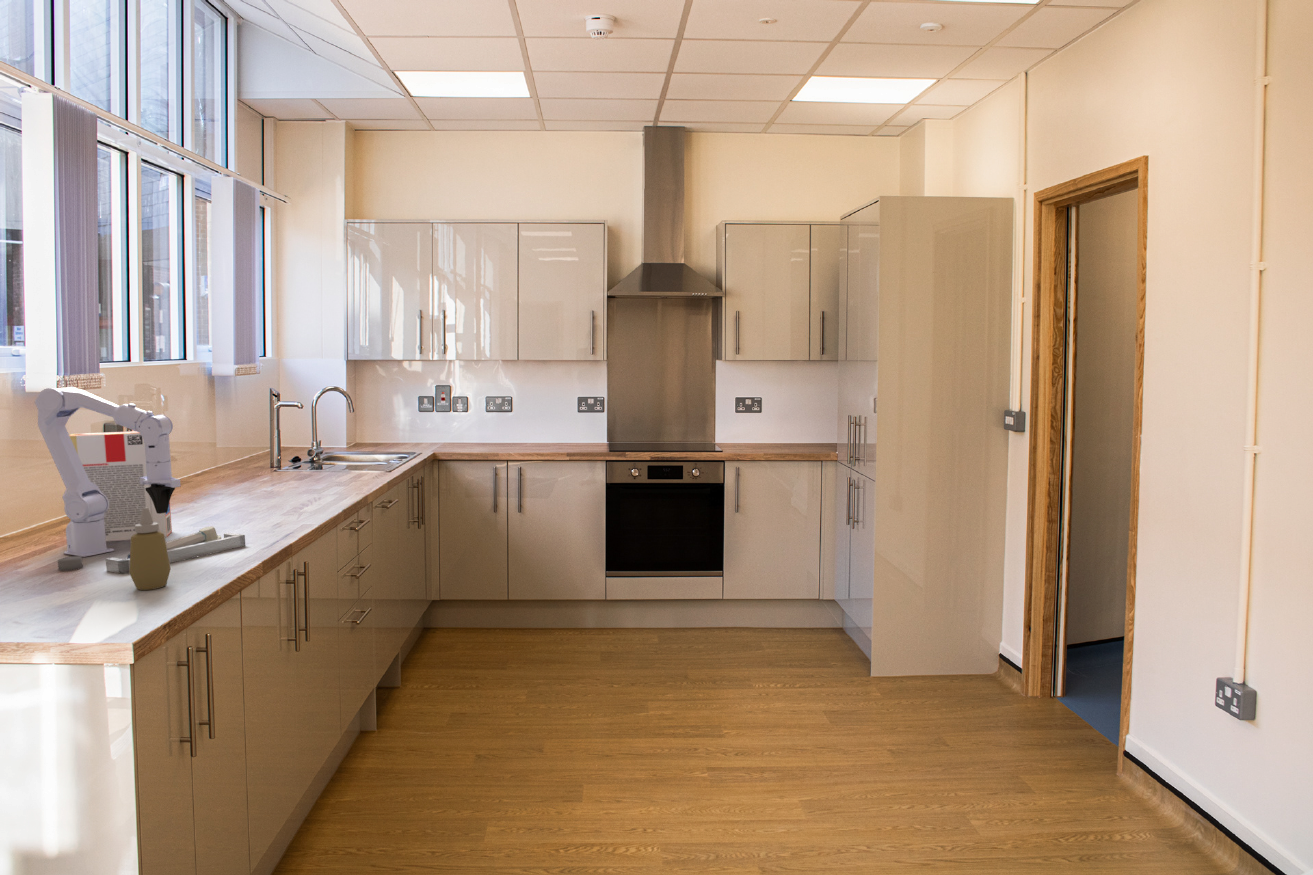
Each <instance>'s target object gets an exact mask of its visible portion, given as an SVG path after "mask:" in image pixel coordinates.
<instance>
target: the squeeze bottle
mask: <svg viewBox="0 0 1313 875" xmlns="http://www.w3.org/2000/svg"><path fill="white" fill-rule="evenodd" d="M158 530H159V524H158V523H156V522H153V520H152V517H151V514H150V511H149V508H142V514H141V520H140V524H136V525H135V532H136V533H137V534H134V535H133V536H132V537H131V540H130V547H129V548H130V549H129V550H130V552H129V554H130V572H129V576H130V578H131V580H132V581H133V582H132V583H133V584H134V586H135V588H136V590H139V591H149V590H156V589H160V588H162V587H165V586H167V583H168V580H169V577H170V573H171V570H172V569H171V563H169V558H168V553H167V547H166V542H167V541H166V537H164V534H163V533H162V532H159V531H158Z"/></svg>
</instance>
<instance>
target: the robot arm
mask: <svg viewBox="0 0 1313 875" xmlns="http://www.w3.org/2000/svg"><path fill="white" fill-rule="evenodd" d="M34 404H35V407H36V408H37V409H36V410H37V427H38V429H39V431H40V433H41V436H42V438H43V440H44V442H45V446H47V449H48V450H49V453H50V455H51V458H52V460H53V462H54V464H55V467H56V470H57V471H58V473H59V475H60V478H61V479H62V480H61V481H62V482H63V485H64V486H65V490H64V493H63V495H62V500H63V503H64V509H63V510H64V514H65V515H66V517H67V518H68V519H69V520H70V521H69V522H68V523H67V525H66V528H65V536H66V537H65V538H66V549H67V550H66V551H63V554H65V555H71V556H80V557H82V558H83V557H84V558H86V557H90V556H95V555H100V554H104V553H109V552H110V553H111V552H113V551H115V549H114V548H111V547H110V548H109V547H107V541H106V536H105V523H104V517H105V512H106V511H107V510H108V507H109V501H108V498H107V497H106V496H105V495H104V494H103V493H102V492H101V491H100V489H99V487H98V486H97V485H95V484H94V483H92V482H91V481H89V478H88V476H87V474H86V472H85V470H84V467H83V465H82V463H81V461H80V458H79V456H78V454H77V452H76V449H75V447H74V445H73V443H72V441H71V438H70V436H69V435H70V434H69V432H68V429H67V426H66V424H67V423H68V420H69V419H70V418H71V417H72V416H73V415H74V414H75V413H76V412H77V411H78V410H80V408H84V409H85V410H86V409H87V410H89V411H92V412H96V413H99V414H101V415H105V416H108V417H111V418H112V419H113V421H114V424H116V425H118V426H121V427H124V428H126V429H128V430H132V431H137V432H139V433H140V435H141V436H142V437H143V439H144V443H145V456H146V470H147V476H145V477H140V484H142V485H143V484H148V485H151V486H150V487H148V488H145V489H146V491H147V493H148V494H149V495H150V497H151V499H152V501H153V504H154V507H155V509H156V512H157V513H158V514H161V513H167V511H168V506H169V502H170V503H171V498H172V495H173V493H174V491H175V490H176V488H180V487H181V479H180V478H179V479H178V478H176V477H173V474H172V459H171V449H170V448H171V446H170V445H171V443H170V434H171V433H172V431H173V427H174V426H173V424H174V423H173V421H172V420H171V419H170V418H169V417H168V416H166V415H165V414H163V413H161V414H156V415H154V412H153V411H150V410H147V411H146V410H145V409H141V408H139V407H136V406H137V405H136V404H135V403H132V402H130V403H123V404H121V405H118V404H116V403H114V402H112V401H109V400H107V399H104V398H102V397H100V396H98V395H95V394H93V393H90V392H89V391H86V390H85V389H81V388H78V387H75V386H66V387H55V388H53V387H46V388H43V389H42V390H40V392H39V394H38V395H37V397H36V398H35V400H34Z"/></svg>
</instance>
